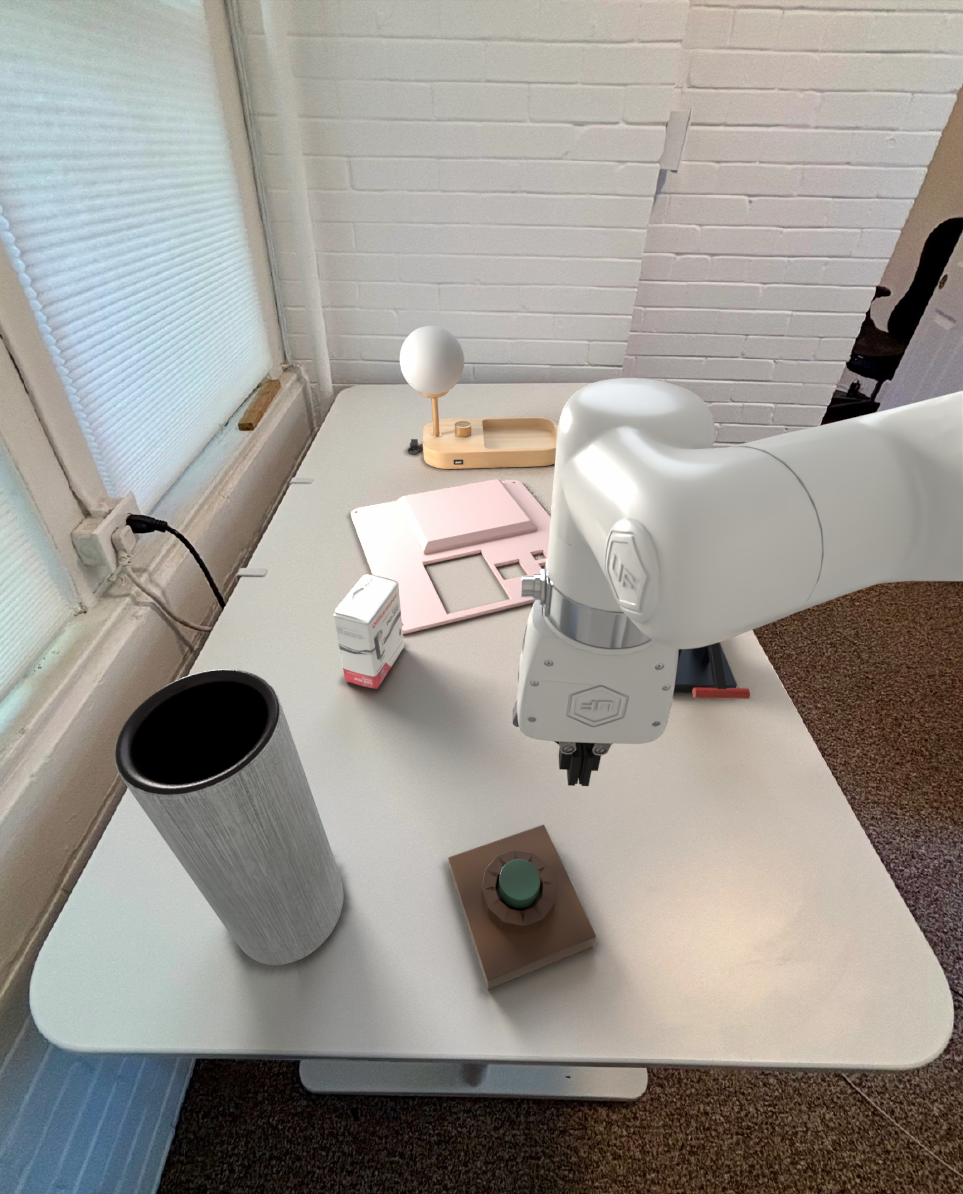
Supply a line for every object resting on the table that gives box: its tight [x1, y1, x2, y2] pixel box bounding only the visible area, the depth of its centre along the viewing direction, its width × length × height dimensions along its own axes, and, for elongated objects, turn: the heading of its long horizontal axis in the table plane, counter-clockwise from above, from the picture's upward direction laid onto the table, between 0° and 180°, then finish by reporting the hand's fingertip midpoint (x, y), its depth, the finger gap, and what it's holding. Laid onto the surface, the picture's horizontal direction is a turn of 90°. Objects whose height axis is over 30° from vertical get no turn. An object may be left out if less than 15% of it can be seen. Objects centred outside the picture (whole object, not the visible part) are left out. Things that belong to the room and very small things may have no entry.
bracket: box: [674, 642, 738, 693], centre depth 75 cm, size 12×10×14 cm
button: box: [499, 859, 540, 909], centre depth 52 cm, size 4×4×2 cm
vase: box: [114, 668, 345, 966], centre depth 46 cm, size 10×10×27 cm
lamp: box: [399, 325, 559, 470], centre depth 119 cm, size 33×17×25 cm, turn 93°
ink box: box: [333, 573, 405, 690], centre depth 75 cm, size 9×5×12 cm, turn 161°
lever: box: [691, 642, 751, 700], centre depth 69 cm, size 15×6×2 cm, turn 179°
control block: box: [448, 824, 597, 990], centre depth 54 cm, size 11×10×4 cm
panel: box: [350, 478, 551, 635], centre depth 99 cm, size 35×33×2 cm
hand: (576, 769), depth 47 cm, fingers closed
